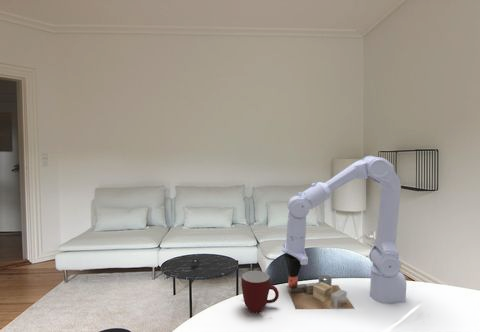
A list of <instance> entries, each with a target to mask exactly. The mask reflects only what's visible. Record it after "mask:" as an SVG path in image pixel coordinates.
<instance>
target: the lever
mask: <svg viewBox="0 0 480 332" xmlns="http://www.w3.org/2000/svg"><path fill="white" fill-rule="evenodd" d="M298 276H299V275H298ZM298 276H295V277H290V276H289V275H288V285H287V286H288V287H289V291H290V292H291V293H293V292H303V291H305V292H306V293H307V294H308V293H313V286H314V285H316V284H318V283H321V282H322V283H325V284H327V285H330V286H331V285H332V276H329V275H324V274H321V275H318V282H311V283H300V284H299V283H298V282H299V280H298V279H299V277H298ZM289 291H288V292H289Z"/></svg>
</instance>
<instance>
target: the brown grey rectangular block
mask: <svg viewBox="0 0 480 332" xmlns="http://www.w3.org/2000/svg"><path fill="white" fill-rule="evenodd" d="M347 295H348V292H347V291H346V290H344V289H341V288H340V290H338V291H337V292H335V293H333V294H331V304H330V306H331V307H333V308H335V309H334V310H338V309H337V308H339V307H341V306H343V305H344V304H346V299H347V298H348V296H347Z"/></svg>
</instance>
